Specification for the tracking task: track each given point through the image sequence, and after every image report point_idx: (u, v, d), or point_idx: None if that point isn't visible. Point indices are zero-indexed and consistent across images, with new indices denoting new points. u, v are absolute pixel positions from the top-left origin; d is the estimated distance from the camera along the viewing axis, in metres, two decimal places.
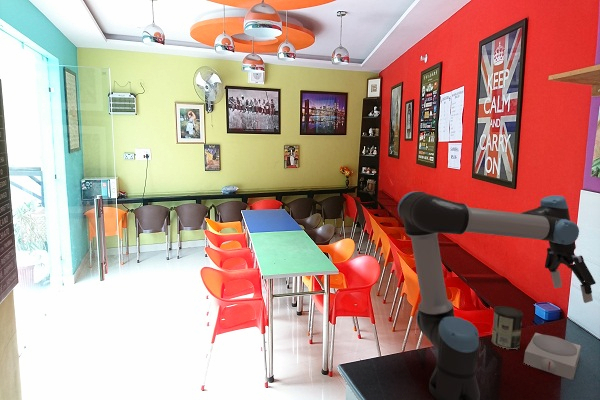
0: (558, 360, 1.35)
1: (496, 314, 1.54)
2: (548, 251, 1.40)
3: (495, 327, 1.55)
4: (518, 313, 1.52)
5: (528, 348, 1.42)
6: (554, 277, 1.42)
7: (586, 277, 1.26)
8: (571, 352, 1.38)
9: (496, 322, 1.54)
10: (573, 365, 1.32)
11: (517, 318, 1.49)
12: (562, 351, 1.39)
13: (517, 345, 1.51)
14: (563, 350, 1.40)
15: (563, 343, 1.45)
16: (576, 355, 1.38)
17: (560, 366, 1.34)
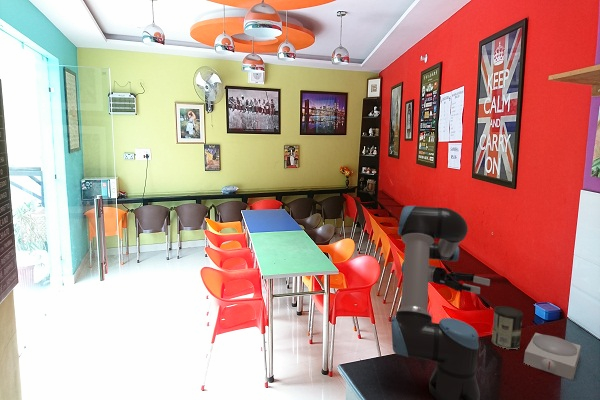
0: (558, 360, 1.35)
1: (496, 314, 1.54)
2: (443, 278, 1.65)
3: (495, 327, 1.55)
4: (518, 313, 1.52)
5: (528, 348, 1.42)
6: None
7: None
8: (571, 352, 1.38)
9: (496, 322, 1.54)
10: (573, 365, 1.32)
11: (517, 318, 1.49)
12: (562, 351, 1.39)
13: (517, 345, 1.51)
14: (563, 350, 1.40)
15: (563, 343, 1.45)
16: (576, 355, 1.38)
17: (560, 366, 1.34)
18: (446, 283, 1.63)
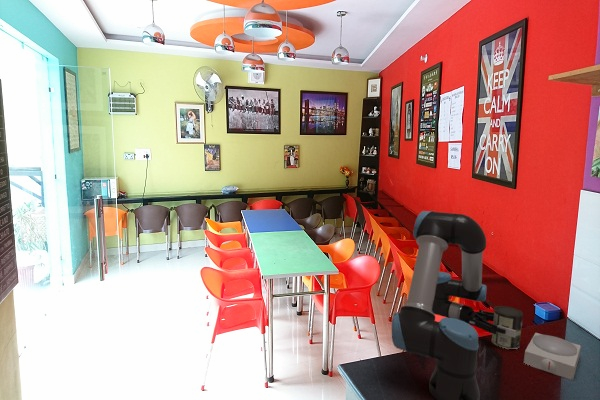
0: (558, 360, 1.35)
1: (496, 314, 1.54)
2: (473, 319, 1.58)
3: None
4: (518, 313, 1.52)
5: (528, 348, 1.42)
6: None
7: None
8: (571, 352, 1.38)
9: (496, 322, 1.54)
10: (573, 365, 1.32)
11: (517, 318, 1.49)
12: (562, 351, 1.39)
13: (517, 345, 1.51)
14: (563, 350, 1.40)
15: (563, 343, 1.45)
16: (576, 355, 1.38)
17: (560, 366, 1.34)
18: (477, 324, 1.56)
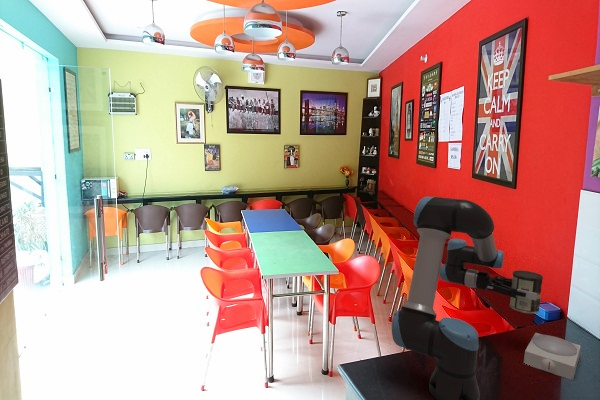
0: (558, 360, 1.35)
1: (515, 278, 1.49)
2: (491, 284, 1.53)
3: None
4: (538, 276, 1.48)
5: (528, 348, 1.42)
6: None
7: None
8: (571, 352, 1.38)
9: (516, 286, 1.49)
10: (573, 365, 1.32)
11: (538, 280, 1.45)
12: (562, 351, 1.39)
13: (537, 309, 1.47)
14: (563, 350, 1.40)
15: (563, 343, 1.45)
16: (576, 355, 1.38)
17: (560, 366, 1.34)
18: (496, 289, 1.51)
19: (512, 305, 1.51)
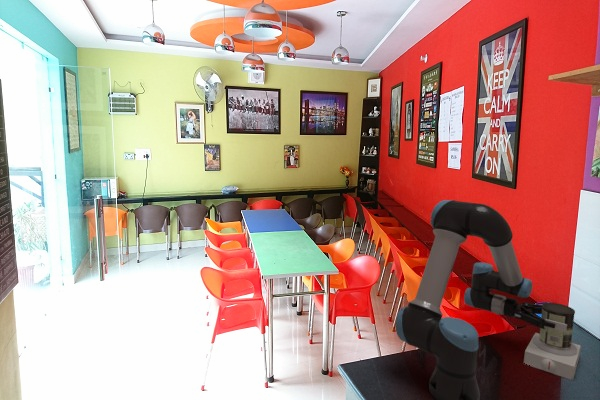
0: (558, 360, 1.35)
1: (545, 311, 1.43)
2: (519, 312, 1.47)
3: None
4: (569, 310, 1.41)
5: (528, 348, 1.42)
6: None
7: None
8: (571, 352, 1.38)
9: None
10: (573, 365, 1.32)
11: (570, 315, 1.38)
12: (562, 351, 1.39)
13: (569, 345, 1.40)
14: (563, 350, 1.40)
15: None
16: (576, 355, 1.38)
17: (560, 366, 1.34)
18: (523, 318, 1.45)
19: (542, 340, 1.45)
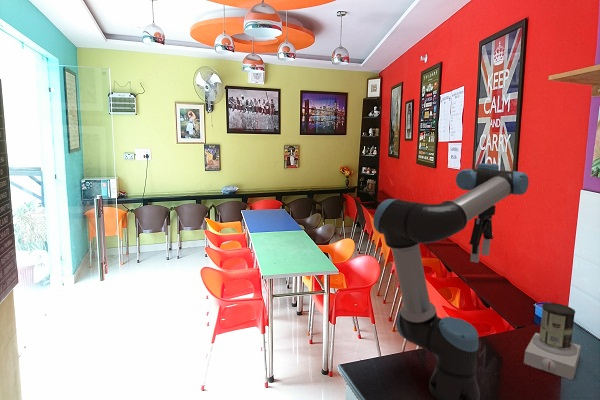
0: (558, 360, 1.35)
1: (545, 311, 1.43)
2: None
3: (544, 325, 1.43)
4: (570, 310, 1.41)
5: (528, 348, 1.42)
6: (483, 243, 1.52)
7: (472, 236, 1.40)
8: (571, 352, 1.38)
9: (546, 320, 1.43)
10: (573, 365, 1.32)
11: (570, 315, 1.38)
12: (562, 351, 1.39)
13: (569, 345, 1.40)
14: (563, 350, 1.40)
15: None
16: (576, 355, 1.38)
17: (560, 366, 1.34)
18: None
19: (542, 340, 1.45)
